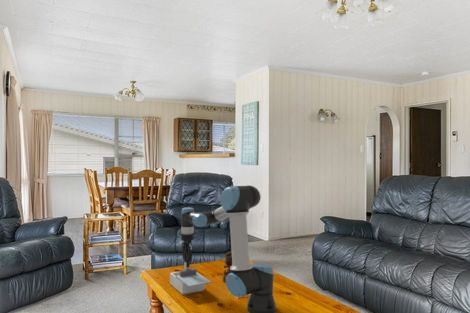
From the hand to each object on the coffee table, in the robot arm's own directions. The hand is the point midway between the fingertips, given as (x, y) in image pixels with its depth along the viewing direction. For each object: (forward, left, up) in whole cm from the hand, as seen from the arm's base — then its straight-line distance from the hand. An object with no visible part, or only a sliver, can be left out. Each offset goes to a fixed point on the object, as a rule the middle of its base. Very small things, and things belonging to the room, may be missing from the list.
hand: (186, 272), depth 219 cm
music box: (+19, -24, -9) cm, 32 cm away
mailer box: (0, 0, -9) cm, 9 cm away
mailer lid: (-7, -6, -2) cm, 9 cm away
